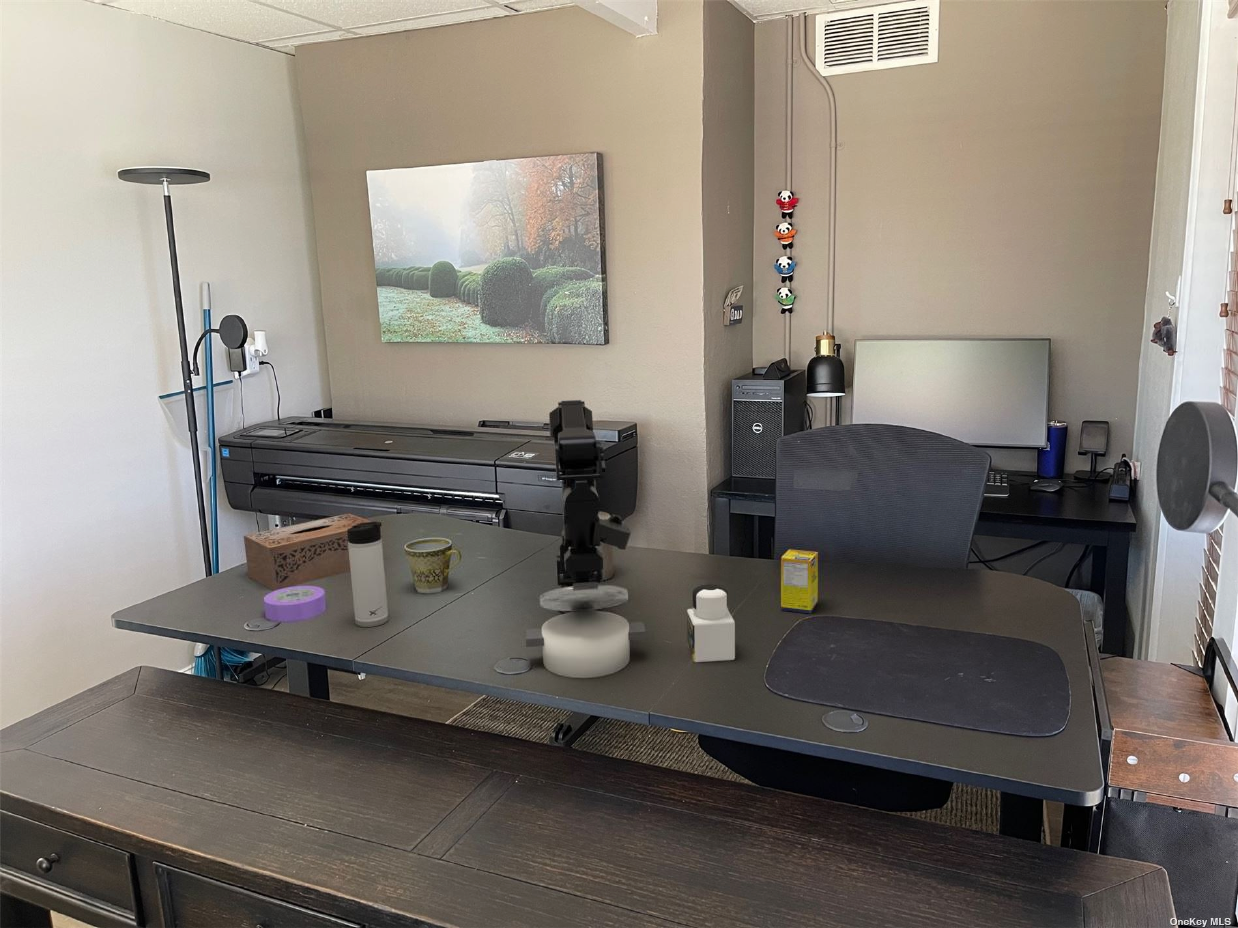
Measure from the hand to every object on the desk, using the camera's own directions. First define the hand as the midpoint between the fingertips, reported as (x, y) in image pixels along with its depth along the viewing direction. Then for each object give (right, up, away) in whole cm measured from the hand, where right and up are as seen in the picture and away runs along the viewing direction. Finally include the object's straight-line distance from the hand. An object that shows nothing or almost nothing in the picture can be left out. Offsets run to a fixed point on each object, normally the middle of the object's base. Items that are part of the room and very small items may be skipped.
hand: (583, 594), depth 155 cm
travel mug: (-42, -8, +20) cm, 47 cm away
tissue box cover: (-65, -2, +53) cm, 84 cm away
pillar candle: (0, -2, +43) cm, 43 cm away
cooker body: (+1, -11, -1) cm, 11 cm away
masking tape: (-60, -8, +27) cm, 66 cm away
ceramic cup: (-33, -4, +37) cm, 50 cm away
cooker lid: (0, -1, -2) cm, 2 cm away
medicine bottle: (+22, -10, 0) cm, 25 cm away
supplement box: (+42, -6, +20) cm, 47 cm away
